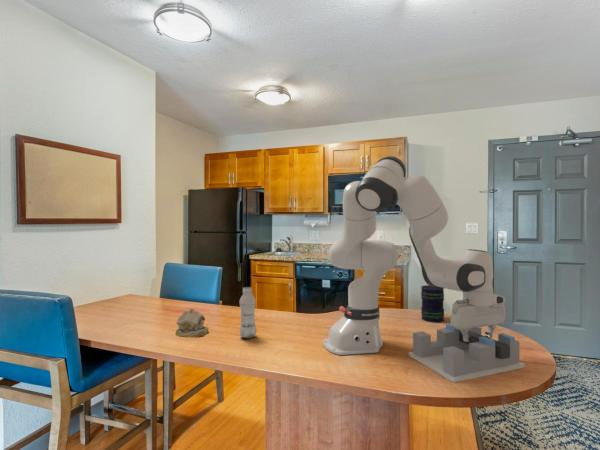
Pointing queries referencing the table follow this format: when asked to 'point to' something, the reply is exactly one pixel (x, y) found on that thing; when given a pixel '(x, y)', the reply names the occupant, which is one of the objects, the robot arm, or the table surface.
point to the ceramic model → (191, 324)
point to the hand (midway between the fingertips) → (478, 339)
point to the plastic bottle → (247, 313)
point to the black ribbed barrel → (432, 304)
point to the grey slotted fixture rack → (463, 354)
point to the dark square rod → (500, 348)
